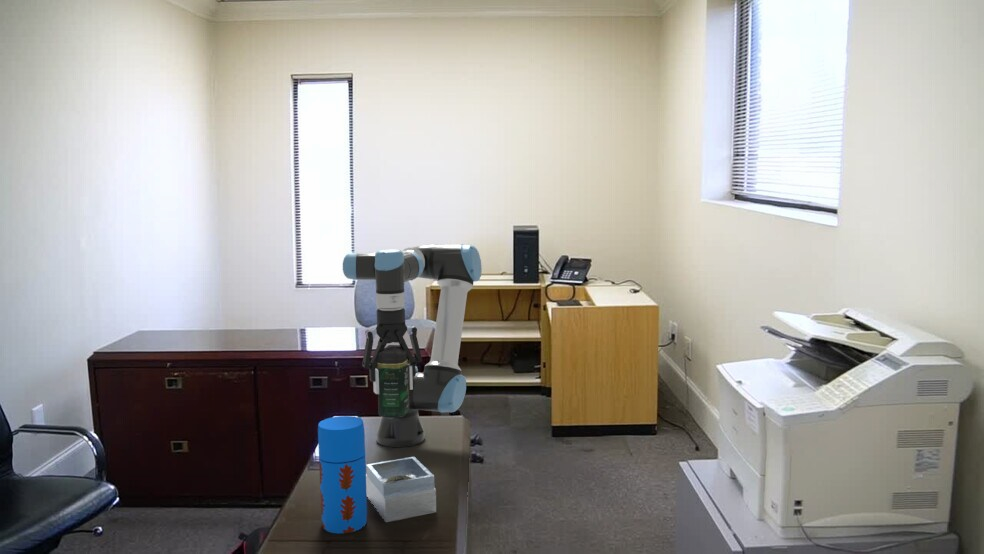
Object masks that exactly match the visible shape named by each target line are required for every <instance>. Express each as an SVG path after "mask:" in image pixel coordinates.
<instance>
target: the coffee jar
mask: <svg viewBox="0 0 984 554" xmlns="http://www.w3.org/2000/svg"><path fill="white" fill-rule="evenodd" d="M377 362H378V363H377V366H376V369H378V370H379V394H377V402H378V403H377V404H378V406H377V409H378V411H377V413H378V416H379V417H386V418H395V417H403V416H404V415H406V414H407V412H408V410H409V392H408V364H409V361H408V357H407V351H404V349H403V348H401V346H400V344H389V345H388V344H387V345H386V346H385V348H384V350H383V351H382V352H380V353H378V360H377Z"/></svg>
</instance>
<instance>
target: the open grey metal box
mask: <svg viewBox="0 0 984 554" xmlns="http://www.w3.org/2000/svg"><path fill="white" fill-rule="evenodd" d="M366 493H367V497H368V498H367V500H368V501H369V500H370V501H371V502H370V501H369V502H370V503H371V505H372V504H373V505H374V506H373V505H372V506H373V507H374V509H375V508H376V509H377V510H376V509H375V510H376V511H377V513H378V512H379V513H378V514H379V515H380V517H381V516H382V517H381V518H382V520H383V519H384V520H383V521H384V522H385V523H389V522H395V521H400V520H405V519H409V518H414V517H418V516H424V515H428V514H429V515H430V514H433V513H437V488H436V487H435V475H434V474H433V473H432V472H431V471H430V470H429V469H428V468H427V467H426V466H424V464H423V463H421V461H419V460H418V458H416V457H415V456H409V457H403V458H397V459H392V460H385V461H379V462H373V463H368V464H367V463H366Z"/></svg>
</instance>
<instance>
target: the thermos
mask: <svg viewBox="0 0 984 554" xmlns="http://www.w3.org/2000/svg"><path fill="white" fill-rule="evenodd" d="M317 438H318V440H317V441H318V444H317V445H318V462H319V463H318V466H319V467H318V469H319V490H320V514H321V521H322V522H321V524H322V529H323V530H324V531H326V532H329V533H332V534H348V533H353V532H357V531H359V530H361V529H362V527H363V526H364V527H365V526H366V525H365V524H367V523H366V522H367V517H368V503H367V501H368V498H367V493H366V474H367V470H366V465H367V463H366V442H365V441H366V434H365V424H364V420H363V419H362V418H361V417H357V416H353V415H352V416H350V415H346V416H345V415H340V416H332V417H328V418H324V419H323V420H321V421H319V422H318V425H317ZM364 527H363V528H364ZM356 530H357V531H356Z"/></svg>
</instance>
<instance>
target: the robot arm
mask: <svg viewBox="0 0 984 554" xmlns="http://www.w3.org/2000/svg"><path fill="white" fill-rule="evenodd" d="M480 255H481V254H480V252H479V250H478V249H477V248H476V247H475V246H474V245H472V244H448V243H447V244H441V243H440V244H439V243H438V244H437V243H435V244H434V243H433V244H432V243H431V244H425V245H420V246H419V245H417V246H411V247H406V248H404V249H403V250H400V249H381V250H377V251H376V252H350V253H347V254H346V255H345V256H344V257H343V260H342V272H343V275H344V277H346V278H347V279H349V280H356V281H358V280H359V281H360V280H361V281H362V280H363V281H365V280H367V281H371V280H372V281H375V299H376V300H375V302H376V303H375V306H376V308H377V310H376V327H375V329H372V330H368V329H367V330H366V331H365V338H366V340H365V345H364V352H363V358H362V363H361V366H362V367H363V368H364V369H366V370H368V371H369V372H368V373H369V380H370V382H372V384H373V393H374V394H375V395H378V394H379V370H378V369H377V363H378V362H377V360H378V353H380V352H382V351H383V350H384V348H385V347H387V345H388V344H392V343H398V345H400V346H401V348H403V349H404V351H407V357H408V392H409V410H408V412H407V414H406V415H404V416H403V417H395V418H386V417H382V416H380V417H381V418H380V421H379V424H378V427H377V431H376V442H377V444H379V445H382V446H384V447H390V448H402V447H403V448H404V447H405V448H406V447H411V446H415V445H418V444H420V443H423V442H424V440H425V437H426V436H425V429H424V427H423V423H422V421H421V418H420V415H419V414H420V413H419V411H426V412H427V411H429V412H439V413H454V412H456V411H458V410H459V408H460V407H461V405H462V404H463V402H464V400H465V399H464V398H465V395H466V391H467V385H466V384H467V379H466V377H465V376H464V375H463V374H462V369H461V368H460V366H459V355H460V349H461V340H462V334H463V327H464V319H465V312H466V307H467V306H466V303H467V299H468V298H467V297H468V292H470V291H471V290H472V289H473V288H474V282H478V281H480V279H481V276H482V260H481V256H480ZM417 278H421V279H427V280H436V281H437V282H436V283H437V285H438V286H439V288H440V294H439V298H438V299H439V300H438V305H437V306H438V307H437V313H436V314H437V315H436V320H435V327H434V328H435V329H434V335H433V340H432V349H431V356H430V360H429V362H428V363H426V364H425V365H424V368H423V369H424V370H423V372H419V369H418V366H417V365H418V363H422V362H423V357H422V353H421V350H420V344H419V342H418V341H419V340H418V337H417V334H418V328H417V327H415V326H413V325H411V326H408V325H406V310H405V308H404V307H405V306H406V304H405V303H406V302H405V299H406V298H405V282H409V281H413V280H415V279H417ZM406 333H407V334H408V335H409V340H410V344H411V347H412V352H413V355H412V352H411V350H410V348H409V347H408V344H407V342H406V340H405V338H404V336H405V334H406ZM376 335H377V336H378V337H379V339H378V342H377V345H376V348H375V350H374V353H373V355H372V352H373V346H374V339H375V338H376Z"/></svg>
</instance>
